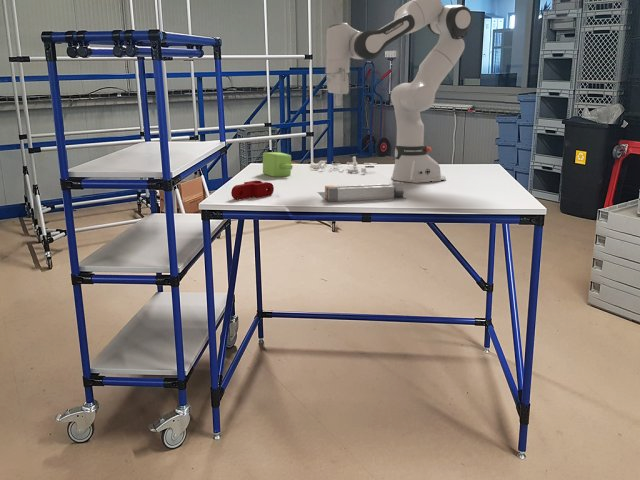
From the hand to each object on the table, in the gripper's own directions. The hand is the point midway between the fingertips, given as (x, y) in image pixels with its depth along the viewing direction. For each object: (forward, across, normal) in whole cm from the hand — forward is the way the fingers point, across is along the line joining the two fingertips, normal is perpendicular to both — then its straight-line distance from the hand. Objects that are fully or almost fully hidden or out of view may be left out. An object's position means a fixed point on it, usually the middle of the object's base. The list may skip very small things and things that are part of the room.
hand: (337, 105), depth 224 cm
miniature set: (+32, +34, -9) cm, 47 cm away
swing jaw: (+30, -31, 0) cm, 43 cm away
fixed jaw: (+30, -33, -2) cm, 45 cm away
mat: (+31, -28, -2) cm, 41 cm away
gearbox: (+31, +28, +19) cm, 46 cm away
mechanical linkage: (+31, -16, +36) cm, 50 cm away
